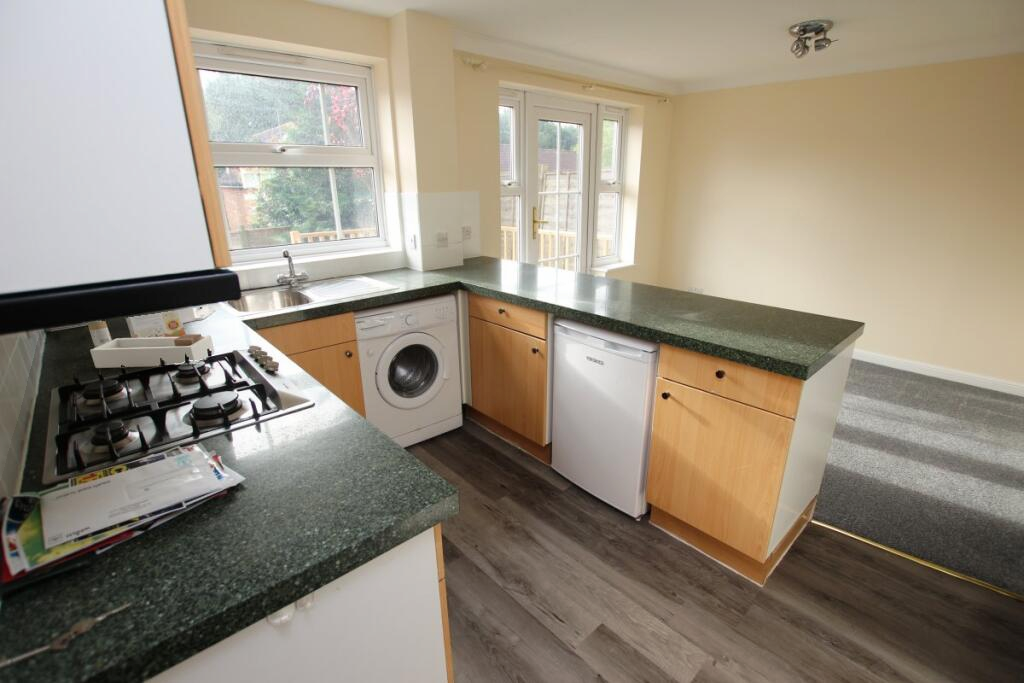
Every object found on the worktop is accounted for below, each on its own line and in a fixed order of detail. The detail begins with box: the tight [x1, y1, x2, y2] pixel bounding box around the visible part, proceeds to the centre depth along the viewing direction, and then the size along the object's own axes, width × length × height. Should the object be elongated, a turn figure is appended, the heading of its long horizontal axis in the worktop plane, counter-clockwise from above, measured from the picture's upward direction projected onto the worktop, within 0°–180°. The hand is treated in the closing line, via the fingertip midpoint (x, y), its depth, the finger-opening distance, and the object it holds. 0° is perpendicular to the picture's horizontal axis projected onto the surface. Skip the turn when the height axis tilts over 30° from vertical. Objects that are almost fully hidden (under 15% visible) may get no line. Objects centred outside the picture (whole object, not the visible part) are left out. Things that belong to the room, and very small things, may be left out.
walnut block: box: [174, 333, 203, 346], centre depth 140 cm, size 5×5×4 cm
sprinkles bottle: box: [87, 320, 113, 348], centre depth 145 cm, size 5×5×14 cm
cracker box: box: [125, 310, 187, 338], centre depth 156 cm, size 14×6×21 cm, turn 141°
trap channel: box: [89, 335, 215, 369], centre depth 141 cm, size 28×10×6 cm, turn 93°
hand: (145, 282), depth 135 cm, fingers closed
